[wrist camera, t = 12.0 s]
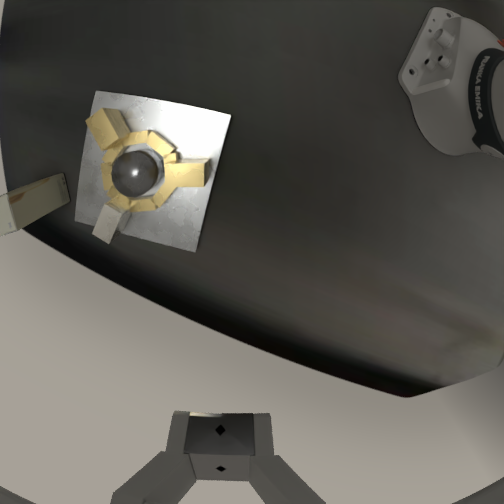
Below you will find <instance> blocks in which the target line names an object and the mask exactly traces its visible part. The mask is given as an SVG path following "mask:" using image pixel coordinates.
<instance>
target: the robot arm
mask: <svg viewBox="0 0 504 504" xmlns="http://www.w3.org/2000/svg"><path fill="white" fill-rule="evenodd" d="M447 15H448V16H447ZM502 41H503V42H504V40H503V39H502ZM503 42H501V41H500V40H499V39H498V38H497V37H496V36H495V35H494V34H493V33H492V32H490V31H489V30H488V29H487V28H485V27H484V26H482V25H481V24H479V23H478V22H476V21H474V20H471V19H469V18H465V17H462V16H460V15H458V14H457V13H455V12H453V11H450V10H448V9H444V8H439V7H434V8H431V9H430V10H429V12H428V14H427V16H426V18H425V20H424V22H423V25H422V27H421V29H420V31H419V33H418V35H417V37H416V39H415V41H414V43H413V45H412V47H411V49H410V51H409V53H408V56H407V58H406V60H405V62H404V64H403V66H402V68H401V70H400V72H399V74H398V80H399V83H400V85H401V86H402V88H403V90H404V91H405V93H406V94H407V95H408V97H409V99H410V102H411V105H412V109H413V113H414V117H415V119H416V122H417V124H418V126H419V128H420V130H421V132H422V134H423V135H424V137H425V138H426V139H427V140H428V142H429V143H430V144H431V145H432V146H433V147H435V148H436V149H437V150H439V151H440V152H442V153H445V154H447V155H451V156H460V155H464V154H468V153H486V154H488V155H490V156H493V157H496V158H499V159H503V160H504V43H503ZM409 70H411V71H412V75H411V74H410V73H409ZM196 480H225V481H249V482H250V484H251V485H252V487H253V488H254V489H255V491H256V492H257V493H258V495H259V496H260V497H261V499H262V500H263V501H264V502H265V504H326V502H324V501H323V500H322V499H321V498H320V497H319V496H318V495H317V494H316V493H315V492H314V491H313V490H312V489H311V488H310V487H309V486H308V485H307V484H306V483H305V482H304V481H303V480H302V479H301V478H300V477H299V476H298V475H297V474H296V473H295V472H294V471H293V470H292V469H291V468H290V467H289V466H288V465H287V464H286V462H284V460H283V459H282V458H281V457H280V456H279V455H274V448H273V437H272V426H271V416H270V414H269V413H261V414H260V413H259V414H253V413H238V414H237V413H222V414H213V413H198V412H186V411H174V413H173V416H172V421H171V426H170V431H169V436H168V441H167V447H166V451H165V452H163V451H161V452H160V453H159V454H157V456H155V457H154V458H153V459H152V460H151V461H150V462H149V463H147V464H146V465H145V466H144V467H143V468H142V469H141V470H139V471H138V472H137V473H136V474H135V475H134V476H133V477H132V478H130V479H129V480H128V481H127V482H126V483H124V484H123V485H122V486H121V487H120V488H118V489H117V490H116V491H115V492H114V493H113V495H112V499H111V503H110V504H178V502H179V501H180V500H181V499H182V498H183V497H184V495H185V494H186V493H187V492H188V491H189V489H190V488H191V487H192V486H193V485H194V483H195V482H196ZM0 504H35V503H33V502H31V501H29V500H27V499H24V498H22V497H20V496H18V495H16V494H14V493H12V492H10V491H9V490H7V489H5V488H3V487H1V486H0ZM452 504H504V477H503V478H501V479H500V480H498V481H496V482H495V483H493V484H491V485H489V486H487V487H485V488H483V489H482V490H480V491H478V492H476V493H474V494H472V495H470V496H468V497H466V498H463V499H461V500H459V501H457V502H455V503H452Z"/></svg>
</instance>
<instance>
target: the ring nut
mask: <svg viewBox="0 0 504 504" xmlns="http://www.w3.org/2000/svg"><path fill="white" fill-rule="evenodd" d="M86 123H87V125H88V127H89V129H90V131H91V133H92V135H93V136H94V138H95V140H96V142H97V144H98V146H99V147H100V149H101V151H104V150H107V152H106V153H105V155H104V156H103V158H102V160H103V161H104V163H101V171H102V179H103V186H104V190H109V191H108V192H107V194H106V195H107V196H109V197H110V198H111V200H110V201H108V202H106V203H105V204H104V206H103V208H102V210H101V213H100V215H99V218H98V220H97V223H96V225H95V228H94V230H93V233H92V234H93V235H95V236H97V237H98V238H100V239H102V240H103V241H105V242H106V243H108V244H110V243H111V242H112V241H113V240H114V239H115V238H116V237H117V236H118V235H119V234H120V233H121V232H122V231H123V230H124V227H125V225H126V223H127V221H128V219H129V217H130V214H131V212H140V211H152V210H156V209H157V208H158V207H159V208H160V207H161V206H162V205H163V204H164V203H165V201H166V200H167V199H168V198H169V196H170V195H171V194H172V193H173V191H174V190H175V189H176V188H177V187H204V186H205V185H206V184H207V182H208V181H209V159H179V157H178V152H176V153H173V151H174V150H175V149H176V148H175V147H174V146H173V145H172V144H170V143H169V142H168V141H167V140H165V139H164V138H163V137H162V136H161V135H159V134H158V133H157V132H156V131H151V130H145V131H138V132H132V133H131V131H130V130H129V128H128V126H127V124H126V123H125V121H124V119H123V117H122V115H121V113H120V112H119V110H118V109H112V108H101V109H100V110H98V111H97V112H96V113H94V114H93V115H92V116H91V117H89V118H88V119H87V120H86ZM141 143H147V144H148V145H149V146H151V147H152V148H153V149H154V150H155V151H157V152H158V153H159V154H160V155H161V156H163V158H164V169H165V182H164V183H163V185H162V186H161V187H160V189H159V190H158V191H157V192H156V194H155V195H154V196H148V197H139V198H134V197H127V196H124V195H122V194H121V193H120V192H118V190H117V189H116V188H115V186H114V184H113V182H112V177H111V172H112V167H113V164H114V162H115V161H116V160H117V158H118V157H119V156H121V155H122V153H123V152H124V151H125V149H126V148H127V146H128V145H134V144H141Z"/></svg>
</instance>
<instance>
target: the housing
mask: <svg viewBox="0 0 504 504" xmlns="http://www.w3.org/2000/svg"><path fill="white" fill-rule="evenodd" d="M101 108H112V109H118V110H119V112H120V113H121V115H122V117H123V119H124V121H125V123H126V124H127V126H128V128H129V130H130V131H131V133H132V132H138V131H145V130H151V131H156V132H157V133H158V134H159V135H161V136H162V137H163V138H164V139H165V140H167V141H168V142H169V143H170V144H172V145H173V146H174V147H175V148H176V149H175V150H174V151H173V153H176V152H178V157H179V159H209V181H208V182H207V184H206V185H205V186H204V187H177V188H176V189H175V190H174V191H173V193H172V194H171V195H170V196H169V198H168V199H167V200H166V201H165V203H164V204H163V205H162V206H161V207H160V208H159V207H158V208H157V209H156V210H152V211H140V212H131V214H130V217H129V219H128V221H127V223H126V225H125V227H124V230H123V231H122V232H121V233H122V234H126V235H130V236H134V237H138V238H141V239H145V240H149V241H153V242H157V243H160V244H164V245H168V246H172V247H176V248H180V249H184V250H188V251H191V252H196V249H197V246H198V242H199V237H200V233H201V229H202V225H203V221H204V217H205V213H206V209H207V205H208V201H209V197H210V193H211V189H212V185H213V181H214V177H215V174H216V170H217V166H218V163H219V159H220V155H221V152H222V148H223V144H224V141H225V137H226V134H227V130H228V127H229V123H230V120H231V115H228V114H224V113H220V112H215V111H211V110H207V109H202V108H198V107H193V106H188V105H183V104H179V103H173V102H168V101H163V100H157V99H151V98H145V97H139V96H132V95H125V94H118V93H110V92H102V91H96V93H95V97H94V101H93V105H92V110H91V114H90V117H91V116H92V115H93V114H94V113H96V112H97V111H98V110H100V109H101ZM106 152H107V150H104V151H101V149H100V147H99V146H98V144H97V142H96V140H95V138H94V136H93V135H92V133H91V131H90V129H89V127H88V128H87V133H86V139H85V144H84V150H83V156H82V162H81V169H80V176H79V184H78V192H77V202H76V212H75V221H78V222H81V223H85V224H89V225H92V226H95V225H96V223H97V220H98V218H99V215H100V213H101V210H102V208H103V206H104V204H105V203H106V202H108V201H110V200H111V198H110V197H109V196H107V195H106V194H107V192H108V191H109V190H104V186H103V179H102V171H101V163H104V161H103V160H102V158H103V156H104V155H105V153H106ZM111 177H112V182H113V184H114V186H115V188H116V189H117V190H118V192H120V193H121V194H122V195H124V196H127V197H134V198H139V197H148V196H154V195H155V194H156V192H157V191H158V190H159V189H160V187H161V186H162V185H163V183H164V182H165V169H164V158H163V156H161V155H160V154H159V153H158V152H157V151H155V150H154V149H153V148H152V147H151V146H149V145H148V144H147V143H141V144H134V145H128V146H127V148H126V149H125V151H124V152H123V153H122V155H121V156H119V157H118V158H117V160H116V161H115V162H114V164H113V167H112V172H111Z"/></svg>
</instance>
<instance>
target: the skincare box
mask: <svg viewBox="0 0 504 504" xmlns="http://www.w3.org/2000/svg"><path fill="white" fill-rule="evenodd" d="M68 202H70V198H69V194H68V190H67V185H66V181H65V177H64V174H63V173H60V174H57V175H53V176H50V177H47V178H44V179H42V180H39V181H36V182H34V183H31V184H28V185H26V186H23V187H21V188H18V189H16V190H13V191H11V192H8V193H6V194H3V195H1V196H0V236H3V235H6V234H9V233H12V232H16V231H18V230H20V229H21V228H23V227H25V226H27V225H28V224H30V223H32V222H34V221H35V220H37V219H39V218H41V217H42V216H44V215H46V214H48V213H50V212H51V211H53V210H55V209H57V208H59V207H61V206H63V205H65V204H66V203H68Z"/></svg>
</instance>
